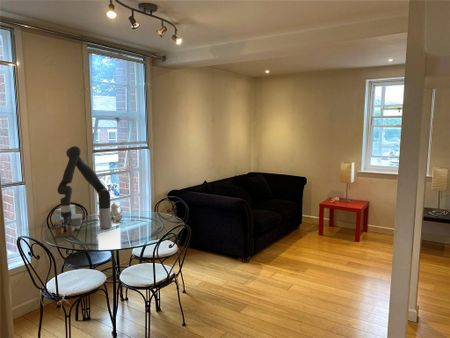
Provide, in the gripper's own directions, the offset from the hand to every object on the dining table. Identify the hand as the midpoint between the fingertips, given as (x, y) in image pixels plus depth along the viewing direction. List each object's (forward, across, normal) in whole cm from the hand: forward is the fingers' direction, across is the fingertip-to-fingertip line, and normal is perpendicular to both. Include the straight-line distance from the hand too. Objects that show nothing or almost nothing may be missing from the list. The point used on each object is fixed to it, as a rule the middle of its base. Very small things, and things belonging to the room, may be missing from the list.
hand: (67, 230), depth 263 cm
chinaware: (+4, -42, +26) cm, 50 cm away
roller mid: (+3, -12, +2) cm, 12 cm away
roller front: (+2, -6, 0) cm, 7 cm away
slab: (-2, -16, +1) cm, 16 cm away
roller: (+2, 0, 0) cm, 2 cm away
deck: (+4, -7, 0) cm, 8 cm away
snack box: (+4, -34, -13) cm, 37 cm away
